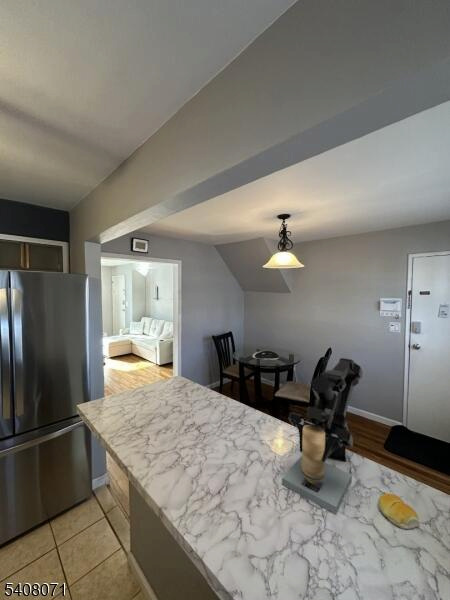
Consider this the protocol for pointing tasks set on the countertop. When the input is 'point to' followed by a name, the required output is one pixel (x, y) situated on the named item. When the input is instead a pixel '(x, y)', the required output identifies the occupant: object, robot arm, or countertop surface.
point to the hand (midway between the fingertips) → (311, 456)
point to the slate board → (320, 485)
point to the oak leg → (313, 453)
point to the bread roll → (398, 511)
